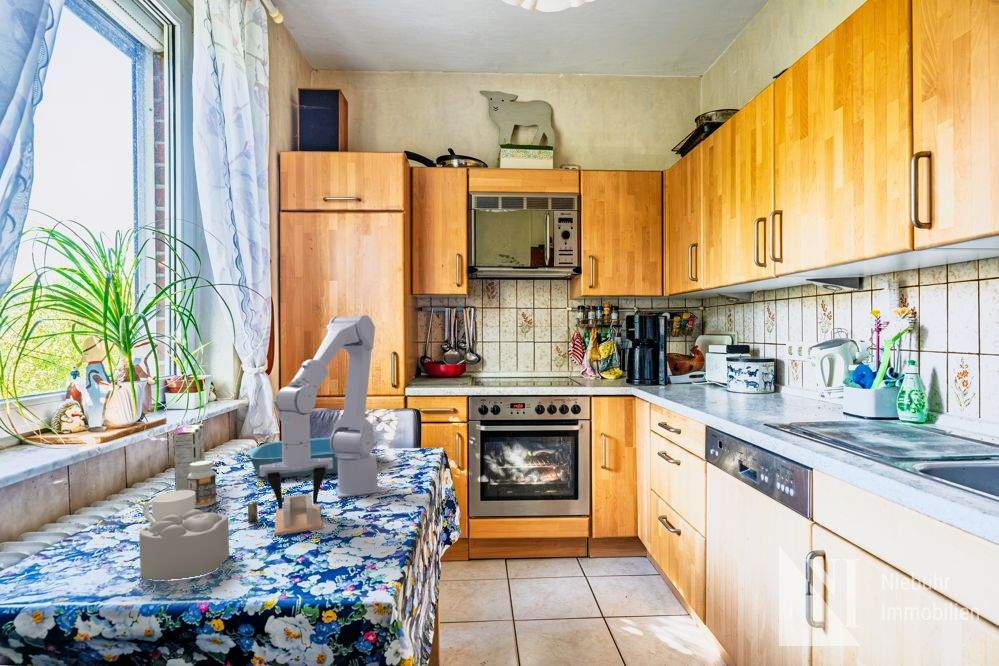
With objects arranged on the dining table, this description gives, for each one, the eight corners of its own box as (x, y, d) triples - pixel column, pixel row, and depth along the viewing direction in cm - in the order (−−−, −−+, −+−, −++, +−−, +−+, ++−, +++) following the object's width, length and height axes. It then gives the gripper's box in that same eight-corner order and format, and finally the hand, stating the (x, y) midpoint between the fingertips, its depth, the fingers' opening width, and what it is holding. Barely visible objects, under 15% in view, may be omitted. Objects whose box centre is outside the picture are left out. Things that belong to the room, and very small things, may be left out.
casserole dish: (236, 485, 137) (235, 458, 137) (256, 464, 159) (255, 441, 159) (377, 473, 145) (377, 448, 145) (378, 454, 167) (377, 433, 167)
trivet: (319, 506, 118) (318, 504, 118) (322, 528, 105) (322, 525, 105) (276, 512, 114) (276, 510, 114) (274, 535, 101) (274, 532, 101)
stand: (257, 519, 111) (257, 500, 111) (257, 522, 109) (256, 503, 109) (248, 520, 110) (248, 502, 110) (248, 523, 108) (247, 504, 108)
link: (311, 507, 116) (311, 493, 116) (313, 522, 106) (312, 507, 106) (284, 511, 114) (284, 496, 114) (283, 527, 104) (283, 511, 104)
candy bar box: (184, 487, 135) (183, 425, 135) (206, 484, 137) (204, 423, 137) (173, 500, 125) (172, 433, 125) (197, 497, 127) (195, 431, 126)
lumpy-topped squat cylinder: (210, 578, 84) (208, 526, 84) (124, 585, 83) (123, 531, 83) (234, 551, 95) (233, 504, 95) (159, 556, 93) (158, 509, 93)
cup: (184, 534, 103) (183, 501, 103) (132, 537, 102) (131, 503, 102) (203, 520, 111) (202, 489, 111) (155, 522, 110) (154, 491, 110)
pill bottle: (203, 509, 118) (202, 466, 118) (182, 508, 119) (180, 465, 119) (221, 501, 123) (220, 460, 123) (201, 500, 125) (199, 459, 124)
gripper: (257, 449, 104) (259, 516, 104) (332, 442, 109) (334, 505, 109) (260, 442, 110) (261, 505, 110) (330, 436, 116) (332, 495, 116)
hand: (297, 504), depth 110 cm, fingers open, 6 cm apart
